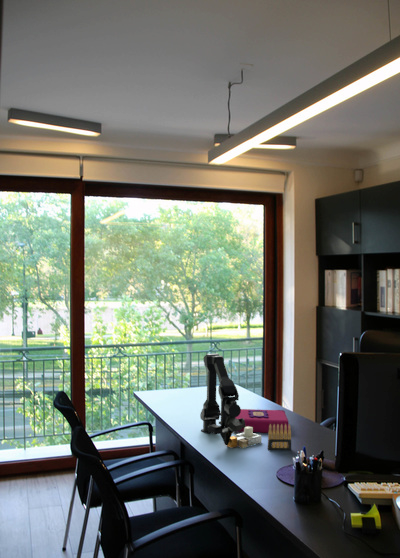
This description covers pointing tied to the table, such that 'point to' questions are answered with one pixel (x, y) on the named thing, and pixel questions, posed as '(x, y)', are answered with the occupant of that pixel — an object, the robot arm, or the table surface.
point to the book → (263, 419)
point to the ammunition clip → (279, 438)
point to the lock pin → (235, 441)
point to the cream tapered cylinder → (248, 432)
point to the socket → (251, 439)
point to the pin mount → (242, 443)
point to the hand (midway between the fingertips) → (226, 445)
